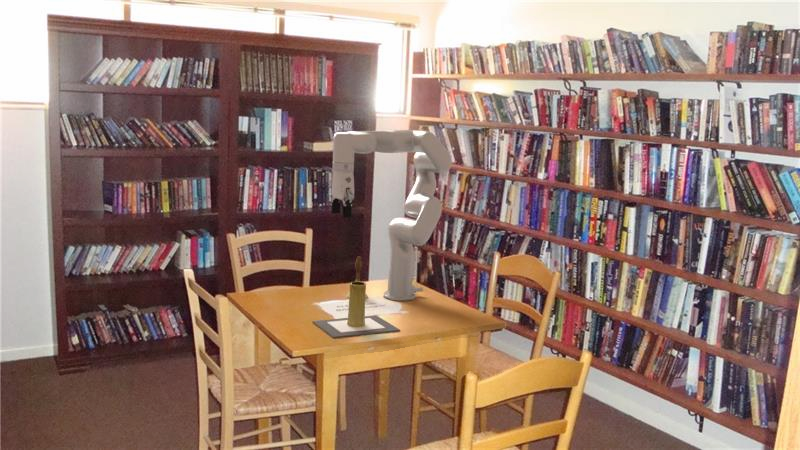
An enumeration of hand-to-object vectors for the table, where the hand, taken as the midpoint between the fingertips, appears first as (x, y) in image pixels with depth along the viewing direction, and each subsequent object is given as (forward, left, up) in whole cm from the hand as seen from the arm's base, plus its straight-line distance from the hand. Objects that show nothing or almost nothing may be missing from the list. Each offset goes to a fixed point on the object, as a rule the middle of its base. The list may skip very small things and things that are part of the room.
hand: (341, 215), depth 262 cm
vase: (+3, +23, -34) cm, 41 cm away
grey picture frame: (+3, +23, -34) cm, 41 cm away
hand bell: (-14, -13, -35) cm, 40 cm away
